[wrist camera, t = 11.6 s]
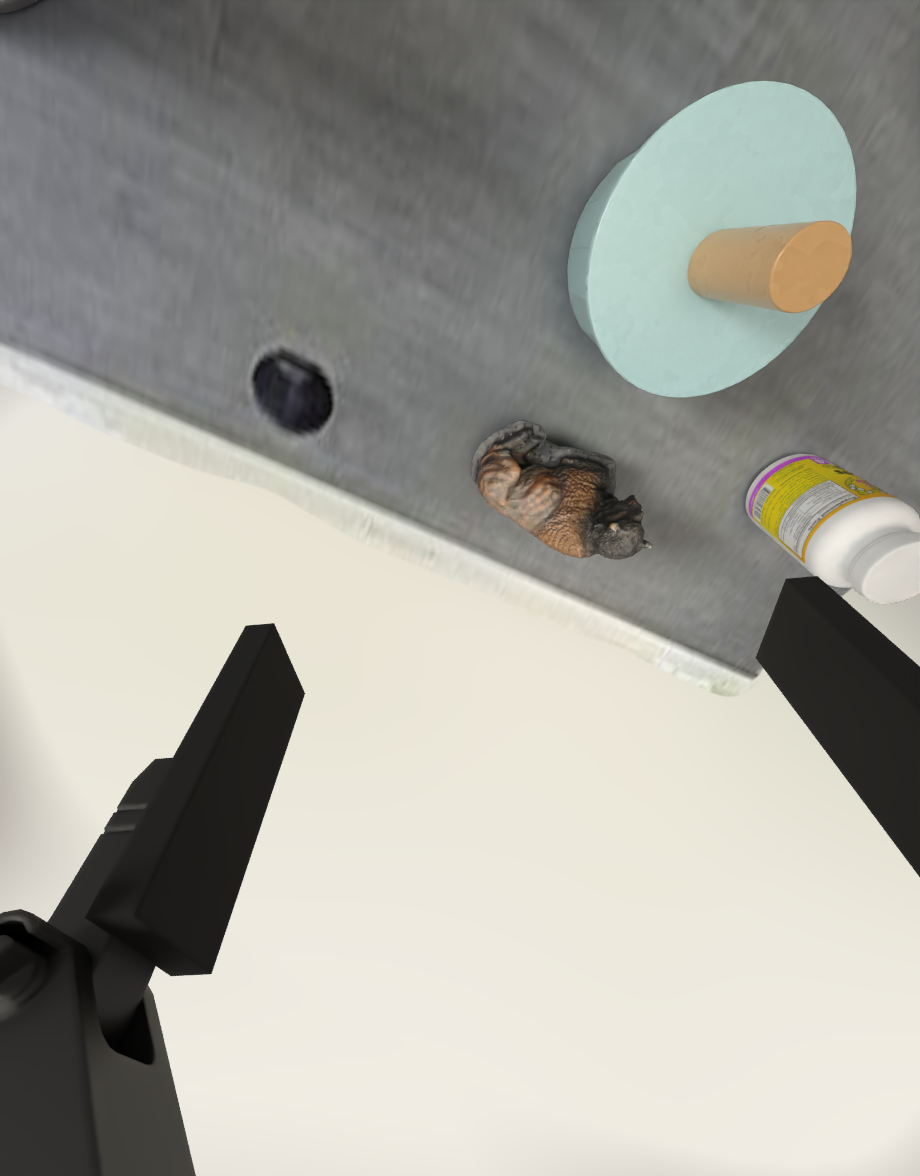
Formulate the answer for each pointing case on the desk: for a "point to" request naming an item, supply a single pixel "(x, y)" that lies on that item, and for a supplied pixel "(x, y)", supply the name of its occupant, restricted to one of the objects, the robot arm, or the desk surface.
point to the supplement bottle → (839, 527)
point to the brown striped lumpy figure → (558, 493)
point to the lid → (721, 239)
